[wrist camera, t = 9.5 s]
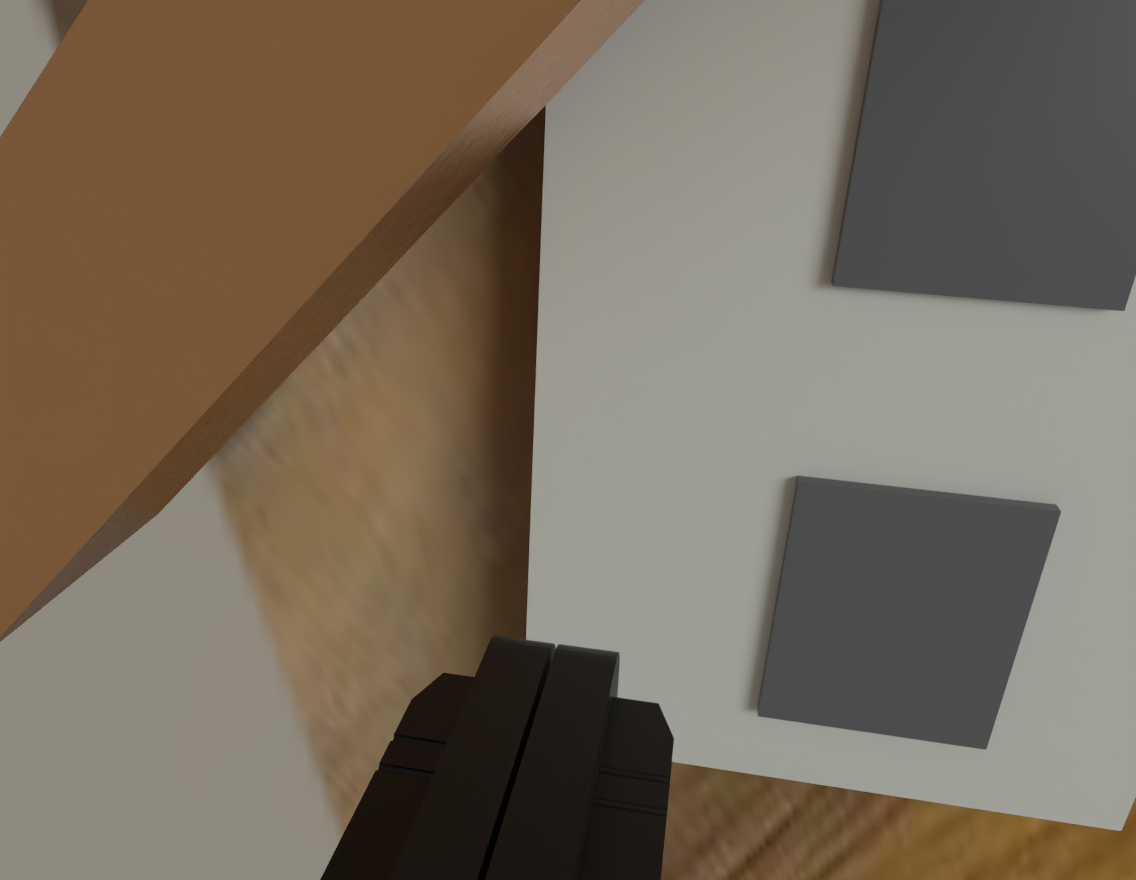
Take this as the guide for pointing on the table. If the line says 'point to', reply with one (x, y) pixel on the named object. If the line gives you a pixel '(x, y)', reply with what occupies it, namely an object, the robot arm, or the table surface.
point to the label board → (851, 392)
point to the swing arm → (222, 226)
